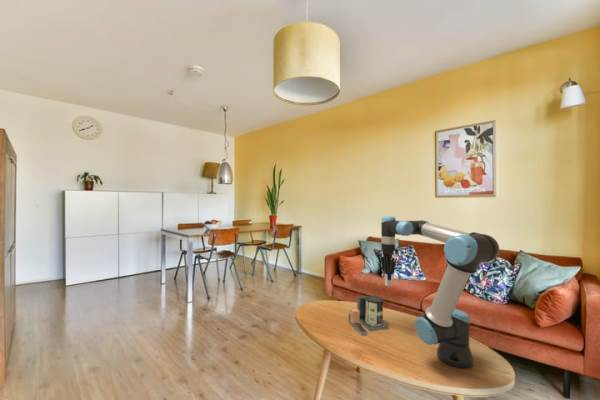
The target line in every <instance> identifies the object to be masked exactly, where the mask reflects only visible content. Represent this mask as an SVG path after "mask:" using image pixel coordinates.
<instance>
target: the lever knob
mask: <svg viewBox="0 0 600 400" xmlns="http://www.w3.org/2000/svg"><path fill="white" fill-rule="evenodd" d="M349 310H350V311H349V314H350V321H351V322H352V323H353V324H354V323H359V324H360V321H359V320H360V311H359V310H358V309H357V307H356V308H350V309H349Z"/></svg>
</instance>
